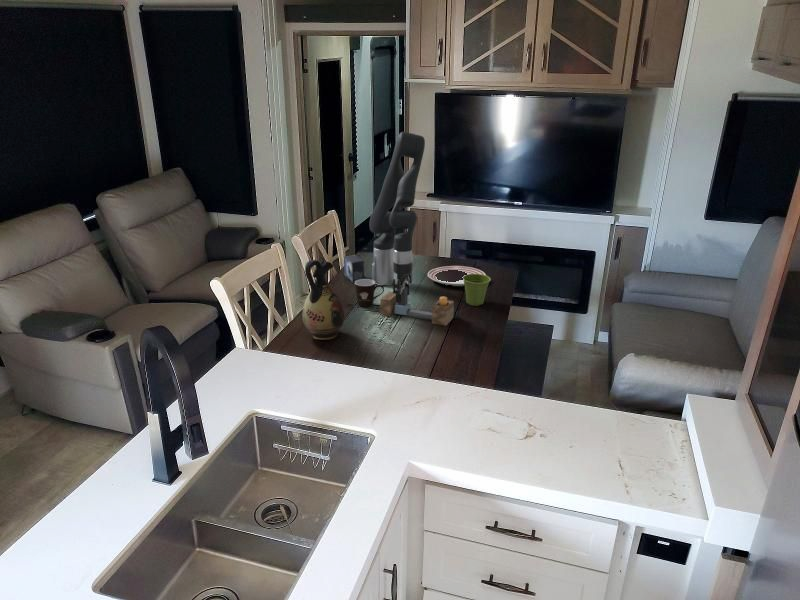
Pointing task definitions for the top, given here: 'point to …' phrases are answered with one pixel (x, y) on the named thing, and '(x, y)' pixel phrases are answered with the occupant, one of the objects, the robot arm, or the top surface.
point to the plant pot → (475, 288)
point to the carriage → (403, 303)
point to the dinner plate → (460, 268)
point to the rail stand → (438, 315)
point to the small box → (353, 267)
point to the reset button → (443, 301)
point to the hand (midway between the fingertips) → (402, 298)
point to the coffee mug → (366, 292)
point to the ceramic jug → (322, 304)
